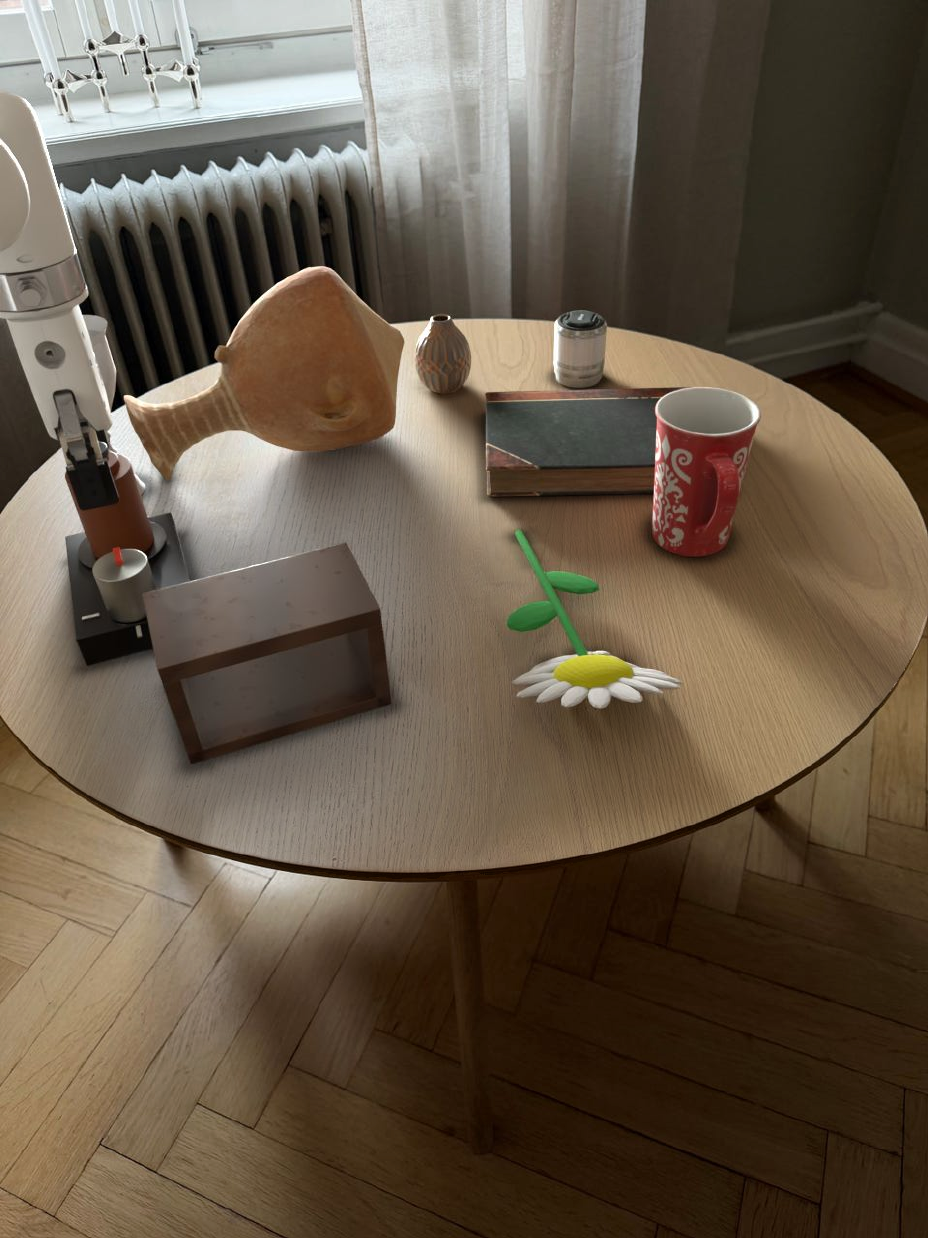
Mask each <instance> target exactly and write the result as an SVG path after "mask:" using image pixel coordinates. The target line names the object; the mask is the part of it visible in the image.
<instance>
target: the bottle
mask: <svg viewBox="0 0 928 1238" xmlns="http://www.w3.org/2000/svg"><path fill="white" fill-rule="evenodd" d="M86 444H90V445H91V442H90V443H86ZM99 446H100V450H101V453H102V457H103V459H106V458H107V461H108V464H109V468H110V471H111V474H112V477H113V480H114V484H115V487H116V490H117V493H118V496H119V502H118V503H117V504H113V505H109V506H104V507H99V508H95V509H90V510H85V511H84V510H81V509H80V508H79V506H78V503H77V500H76V497H75V494H74V491H73V488H72V486H71V483H70V480H69V477H68V474H67V471H66V470H65V473H64V479H65V482H66V484H67V487H68V490H69V494H70V495H71V498H72V501H73V503H74V506H75V509H76V512H77V514H78V517H79V520H80V522H81V526H82V528H83V532H85V534H86V536H87V539H88V542H89V544H90V547H91V550H92V552H93V554H94V555H95V556H96V557H97V558H99V559H100V558H101V557H102V556H104V555H106V554H108V553H110V552H113V548H117V547H120V550H122V549H134V550H138V551H141V552H142V553H143V552H145V551H146V550H147V549H148V548H149V547H150V546H151V545H152V543H153V540H154V535H153V532H152V529H151V526H150V523H149V519H148V513H147V511H146V507H145V504H144V501H143V497H142V495H141V494H140V491H139V487H138V484H137V481H136V478H135V475H136V474H134V473H135V472H134V471H135V470H134V468H133V465H132V462H131V460H130V459H129V458H128V457H127V456H126V455H123V454H120V453H117V452H116V453H113V452H111V451H109V450H108V447H107V445H106V444H105V443H103V442H99ZM91 447H92V445H91Z"/></svg>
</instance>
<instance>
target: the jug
mask: <svg viewBox="0 0 928 1238" xmlns="http://www.w3.org/2000/svg"><path fill="white" fill-rule="evenodd" d="M405 343H406V342H405V338H404V336H403V334H402V332H401V330H399V329H398V328H396V326H395V327H394V325H391V324H390V323H389V322H388V321H386V320H385V319H384V318H383V317H381V316H380V315H379V314H377V313H376V312H375V311H374V310H373V309H372V308H371V307H370V306H369V305H368V304H367V303H365V301H363V300H362V299H361V298H360V297H359V296H358V295H357V294H356V292H355V291H353V289H352V288H351V287H350V286H349V285H348V284H347V283H346V282H345V281H344V280H343V279H342V277H341V276H340V275H339V274H338V273H337V272H336V271H335V270H333V268H330V267H327V266H324V265H319V266H312V267H311V266H308V267H306V268H304V269H302V270H300V271H298V272H296V273H294V274H292V275H290V276H287V277H286V278H284V279H282V280H281V281H279V282H277V283H276V284H274V286H272V287H271V288H270V289H268V290H267V291H266V292H264V293H263V294H262V295H261V296H260V297H259V298H258V299H257V300H255V302H253V304H252V305H251V306H250V307H249V308H248V310H247V311H246V312H245V313H244V315H243V316H242V317H241V318H240V320H239V321H238V323H237V325H236V326H235V327H234V329H233V331H232V333H231V334H230V337H229V339H228V342H227V343H226V345H218V346H217V348H216V350H215V351H214V359H215V360H216V361H217V362H218V363H219V364H221V365H220V370H219V371H220V373H219V375H218V377H217V380H216V381H215V382H214V383H213V384H212V385H211V386H210V387H208V388H207V389H205V390H203V391H201V392H200V393H198V394H196V395H193V396H190V397H188V398H185V399H182V400H178V401H174V402H162V403H158V404H157V403H150V402H144V401H142V400H140V399H138V398H136V397H134V396H132V395H128V394H126V395H123V400H124V403H125V408H126V412H127V416H128V418H129V421H130V423H131V426H132V428H133V430H134V432H135V433H136V435H137V437H138V438H139V440H140V442H141V445H142V446H143V448H144V450H145V452H146V453H147V455H148V457H149V460H150V463H151V464H152V465H153V467H154V468H155V469H156V470H157V471H158V472H159V474H160V475H161V476H162V477H163V479H164V480H165V481H171V479H172V478H173V474H174V470H175V469H176V465H177V463H178V462H179V461H180V459H181V457H182V456H183V454H184V453H185V452H187V451H188V450H190V449H191V448H192V447H193V446H194V445H196V444H199V443H200V442H202V441H203V440H205V439H207V438H208V439H209V438H211V437H213V436H215V435H218V434H221V433H225V432H233V431H237V432H238V431H240V432H244V433H245V432H246V433H248V434H251V435H253V436H255V437H256V438H258V439H260V440H262V441H264V442H266V443H268V444H270V445H273V446H275V447H279V448H283V449H287V450H290V451H294V452H301V453H302V452H309V453H321V452H329V451H335V450H342V449H346V448H349V447H355V446H359V445H362V444H365V443H368V442H372V441H375V440H377V439H380V438H382V437H383V436H385V435H387V434H389V432H391V431H392V430H393V429H394V428H395V425H396V418H397V397H398V380H399V372H400V366H401V360H402V356H403V355H402V354H403V351H404V346H405Z"/></svg>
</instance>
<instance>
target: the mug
mask: <svg viewBox="0 0 928 1238" xmlns="http://www.w3.org/2000/svg"><path fill="white" fill-rule="evenodd" d="M694 387H695V388H686V389H681V390H677V391H674V392H671V393H669V394H667V395H665V396H663V397H662V398H661V399H660V400H659V401H658V403H657V404H656V407H655V413H656V416H657V433H656V456H655V478H654V494H653V501H652V502H653V504H652V519H651V535H652V538H653V540H654V541H655V543H657V544H658V545H659V546H660V547H661V548H663V550H666V551H668V552H670V553H672V554H675V555H678V556H682V557H692V558H693V557H705V556H710V555H713V554H716V553H718V552H719V551H721V550H722V549H724V548H725V547H726V545H727V543H728V540H729V538H730V533H731V530H732V526H733V525H732V524H733V521H734V516H735V513H736V509H737V506H738V500H739V498H740V493H741V488H742V485H743V481H744V476H745V473H746V468H747V467H748V461H749V458H750V454H751V449H752V445H753V441H754V437H755V433H756V430H757V427H758V425H759V423H760V422H761V418H762V412H761V409H760V407H759V406H758V404H757V403H756V402H754V401H753V400H752V399H750V397H749V398H748V397H747V396H745V395H743V394H741V393H738V392H736V391H732V390H728V389H724V388H717V387H706V386H694Z"/></svg>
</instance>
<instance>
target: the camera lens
mask: <svg viewBox="0 0 928 1238" xmlns="http://www.w3.org/2000/svg"><path fill="white" fill-rule="evenodd" d="M607 331H608V323H607V320H606V319H605V318H604V317H603V316H602V315H600V314H599V313H596V312H593V311H589V310H581V309H580V310H572V311H569V312H566V313H562V315H560V316H558V318H557V319H556V320H555V322H554V332H553V333H554V337H553V338H554V341H553V367H554V369H553V371H554V374H555V380H556V381H557V382H558V383H559V384H560V385H562V386H565V387H568V388H575V389H582V388H583V389H584V388H589V387H592V386H593V387H594V386H595V385H597V384H598V383H599V382H600V381H601V379H602V378H603V374H604V367H605V364H606V363H605V361H606V347H607V346H606V345H607V344H606V343H607Z"/></svg>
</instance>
